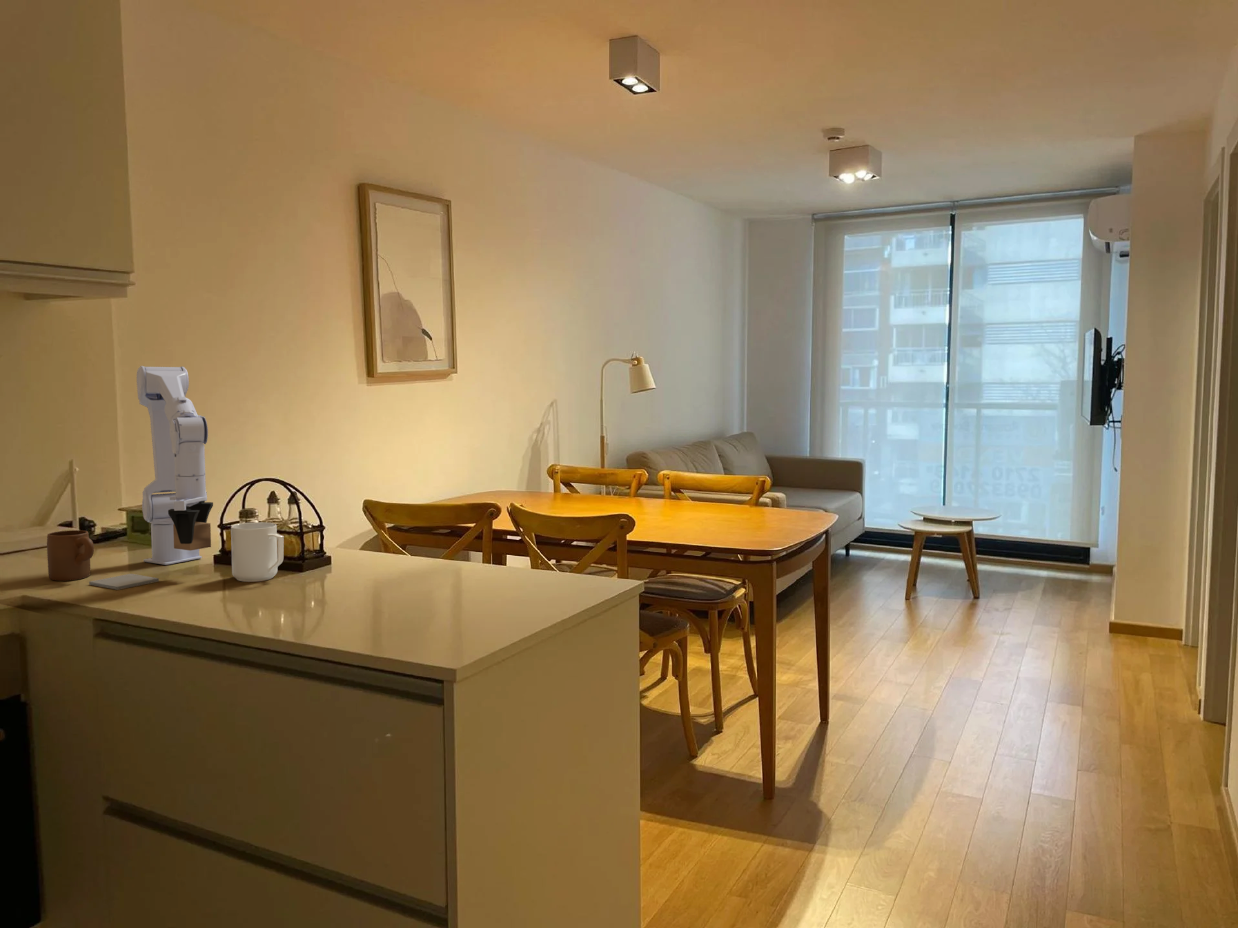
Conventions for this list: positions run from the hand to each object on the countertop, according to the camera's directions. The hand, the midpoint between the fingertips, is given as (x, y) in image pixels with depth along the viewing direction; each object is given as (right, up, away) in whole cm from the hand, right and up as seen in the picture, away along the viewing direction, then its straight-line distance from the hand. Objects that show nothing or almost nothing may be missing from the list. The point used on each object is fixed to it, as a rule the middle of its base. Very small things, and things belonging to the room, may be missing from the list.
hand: (192, 540), depth 193 cm
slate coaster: (-12, -8, -4) cm, 15 cm away
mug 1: (-24, -8, -1) cm, 25 cm away
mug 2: (+14, -8, +1) cm, 16 cm away
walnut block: (0, -2, 0) cm, 2 cm away
